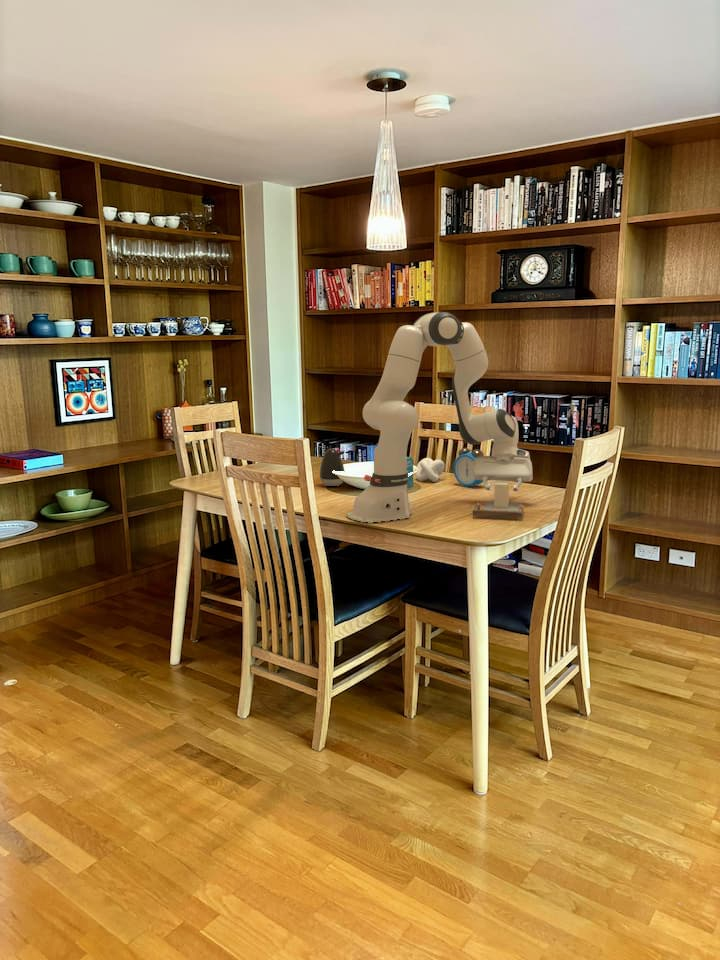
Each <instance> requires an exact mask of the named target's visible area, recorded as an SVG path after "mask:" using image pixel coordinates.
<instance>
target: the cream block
mask: <svg viewBox="0 0 720 960" xmlns="http://www.w3.org/2000/svg"><path fill="white" fill-rule="evenodd" d="M509 489H510V481H495V482H494V489H493V491H494V495H493V497H494V498H493V500H494V501H493V502H494V507H500V508H508V503H509V498H510V497H509V496H510V493H509V492H510V490H509Z"/></svg>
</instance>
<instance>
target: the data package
mask: <svg viewBox="0 0 720 960" xmlns="http://www.w3.org/2000/svg"><path fill="white" fill-rule="evenodd" d="M410 472H413V474H412V475H411V476H409V477H408V484H407V489H410V488H412V487H413V485H414V458H413V457H411V456H407V473H410ZM409 487H410V488H409Z"/></svg>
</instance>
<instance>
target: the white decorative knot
mask: <svg viewBox="0 0 720 960" xmlns="http://www.w3.org/2000/svg"><path fill="white" fill-rule="evenodd" d="M416 467H417V468H418V470H417V472H416V473H415V478H416V479H417V480H418V481H421V482H423V481H424V482H425V481H426V480H428V479H429V480H430V481H431V482H433V483H437V482H438V481H439V479H440V476H441V475H442V474H443V473H444V470H445V463H444V461H443V460H441V459H435V460H433V459H432V458H430V457H425V458H422V459H421V460H420V461H419V462H418V464H417V465H416Z"/></svg>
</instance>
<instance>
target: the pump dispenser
mask: <svg viewBox="0 0 720 960" xmlns="http://www.w3.org/2000/svg"><path fill="white" fill-rule="evenodd" d="M343 454H345V451H344V450H340V451H338V450H337V449H335V448H328V449H326V451H325V452H324V454H323V456H322V458H321V459H322V460H321V462H320V468H319V478H320V481H321V483H322V484H323V486H325V487H327V486H337V487H339V486H341V485H342V484H343V482H344V480H341V479H340V478H339V477H338V476H337V475H335V474H333V473H332V471H333V470H335V471H344V472H345V465H344V463H343V460H342V458H341V456H342V455H343Z"/></svg>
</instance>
